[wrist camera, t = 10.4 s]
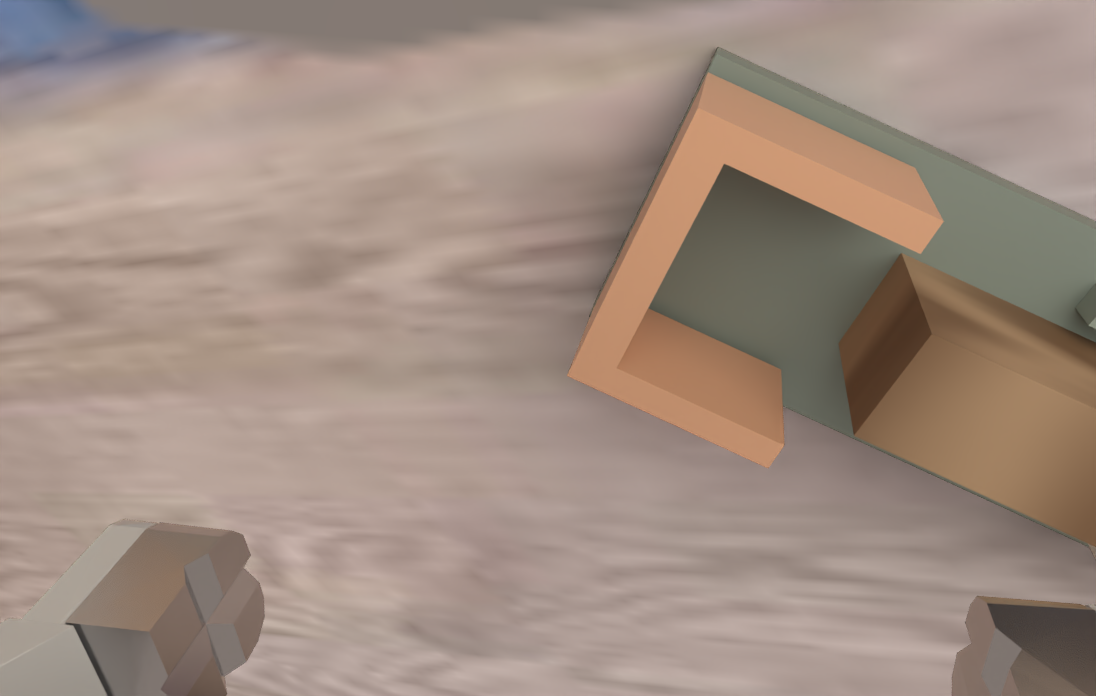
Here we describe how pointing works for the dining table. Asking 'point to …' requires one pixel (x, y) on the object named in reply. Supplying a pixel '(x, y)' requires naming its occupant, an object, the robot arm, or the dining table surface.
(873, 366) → the brown rectangular block
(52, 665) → the robot arm
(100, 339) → the dining table surface
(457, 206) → the dining table surface
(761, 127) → the cap
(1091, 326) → the grey slotted holder
